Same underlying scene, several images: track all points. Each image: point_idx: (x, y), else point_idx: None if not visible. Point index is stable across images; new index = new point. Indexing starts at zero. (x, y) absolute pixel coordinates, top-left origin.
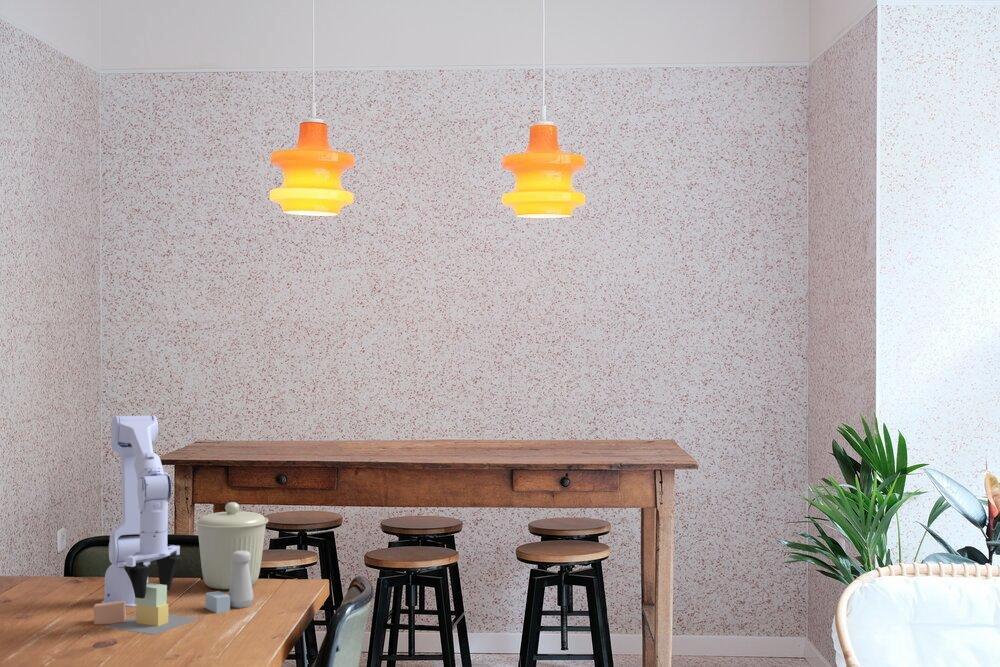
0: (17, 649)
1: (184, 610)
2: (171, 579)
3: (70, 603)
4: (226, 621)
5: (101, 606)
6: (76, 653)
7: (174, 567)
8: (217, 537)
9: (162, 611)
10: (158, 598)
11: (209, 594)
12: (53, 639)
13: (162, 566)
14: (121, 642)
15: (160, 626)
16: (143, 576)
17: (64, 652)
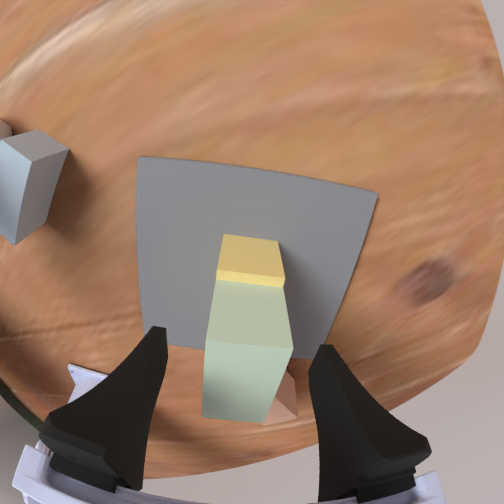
0: (437, 376)
1: (75, 273)
2: (136, 358)
3: (169, 444)
4: (118, 64)
5: (291, 410)
6: (478, 289)
7: (107, 405)
8: None
9: (257, 261)
10: (271, 308)
11: (16, 222)
12: (390, 377)
13: (140, 445)
14: (423, 253)
15: (279, 230)
16: (394, 419)
17: (469, 311)
